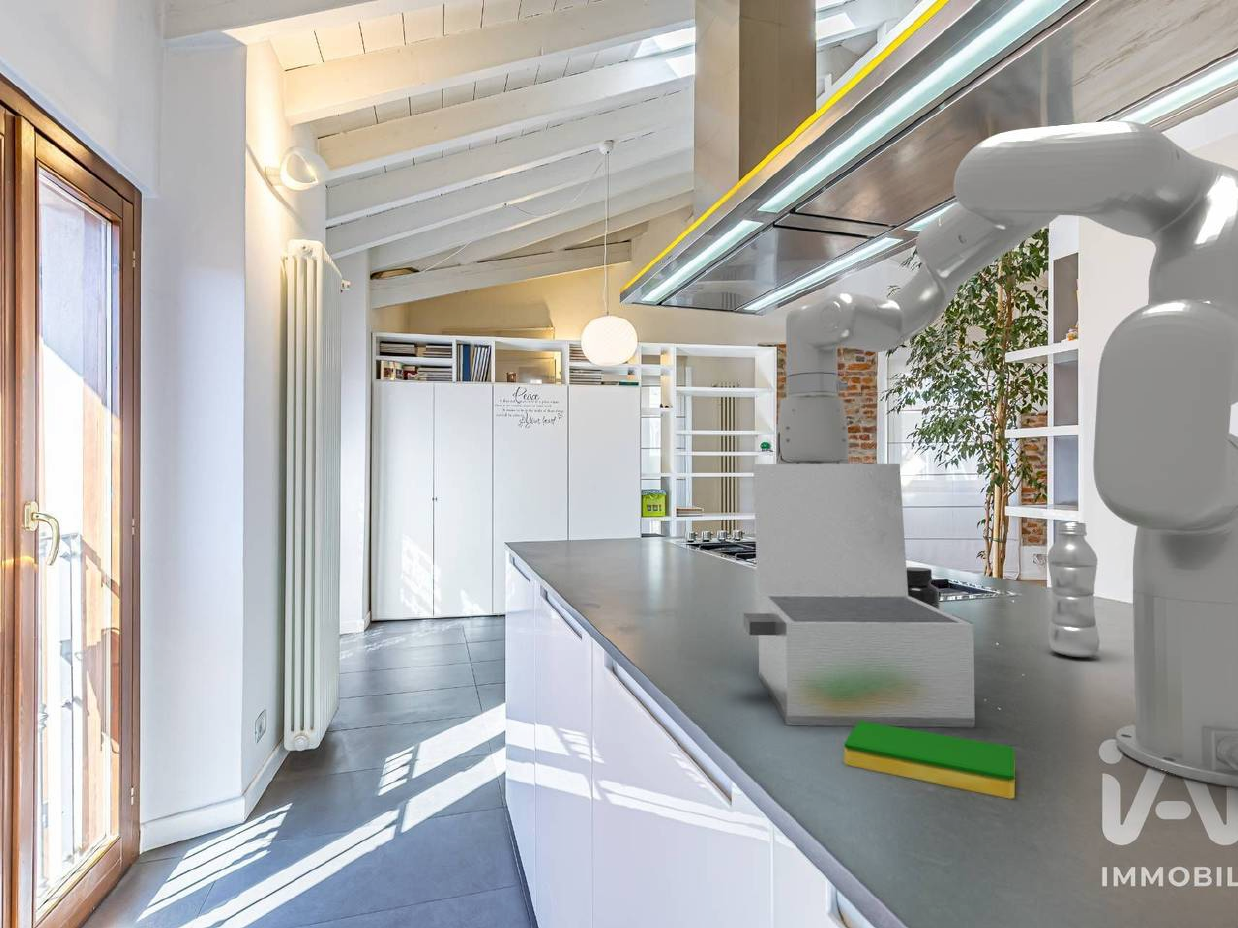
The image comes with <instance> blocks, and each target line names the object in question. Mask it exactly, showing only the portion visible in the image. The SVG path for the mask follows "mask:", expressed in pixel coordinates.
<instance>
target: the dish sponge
mask: <svg viewBox="0 0 1238 928" xmlns="http://www.w3.org/2000/svg"><path fill="white" fill-rule="evenodd" d="M844 747H845V748H844V764H845V765H847V766H851V767H855V768H859V769H865V770H870V771H874V772H880V773H884V774H888V775H893V776H899V777H904V778H907V779H908V778H909V779H914V780H919V781H923V782H928V783H933V784H938V785H943V786H947V787H952V788H957V789H961V790H966V791H971V792H977V793H980V794H984V795H985V794H986V795H991V796H996V797H999V798H1005V799H1010V800H1011V799H1015V794H1016V793H1015V789H1016V787H1015V786H1016V783H1015V782H1016V779H1015V778H1016V772H1015V771H1016V769H1015V768H1016V764H1015V759H1016V757H1015V748H1013V747H1011V746H1010V745H1009V746H1007V745H1002V744H995V743H990V742H986V741H979V740H978V741H977V740H973V739H967V738H961V737H956V736H951V735H950V736H949V735H944V734H938V733H934V732H927V731H921V730H915V729H910V728H909V729H908V728H903V727H900V726H887V725H881V724H875V723H870V722H864V721H860V722H858V723H857V725H856V726H854V728H852V730H851V733H850V734H849V736H848V737H847V739H846V740H845V742H844Z"/></svg>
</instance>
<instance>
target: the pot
mask: <svg viewBox="0 0 1238 928" xmlns="http://www.w3.org/2000/svg"><path fill="white" fill-rule="evenodd" d="M939 609H940V608H939ZM939 609H937V608H935V607H933V606H930V605H928V604H926V603H924V602H921V601H919V600H917V599H915V598H912V597H910V596H878V595H758V613H755V612H754V613H753V612H752V613H749V612H748V613H747V612H746V613H744V612H743V618H742V619H743V627H744V629H745V631H746V632H747V633H748V635H749V636H758V674H759V675H758V677H759V679H760V680H761V682H762V684H763V686H764V687H765V690H766V691H767V693H768V694H769V697H770V698H771V700H772V701H773V703H774V705H775V706H776V708H777V709H778V711H779V712H778V713H780V715H781V716H782V717H781V718H782V719H783V721H784V722H785V724H786V725H787V726H828V727H829V726H830V727H831V726H832V727H833V726H834V727H835V726H836V727H845V726H846V727H855V726H856V725H857V723H858V722H860V721H864V722H870V723H875V724H881V725H887V726H893V727H906V728H907V727H911V728H913V727H915V728H917V727H919V728H923V727H924V728H976V725H975V724H976V723H975V722H976V721H975V718H976V717H975V662H974V661H975V653H974V651H975V650H974V642H975V641H974V623H973V622H971V621H969V620H966V619H964V618H962V617H959V616H958V615H955V614H951V613H948V612H945V611H944V610H942V609H940V610H939Z"/></svg>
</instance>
